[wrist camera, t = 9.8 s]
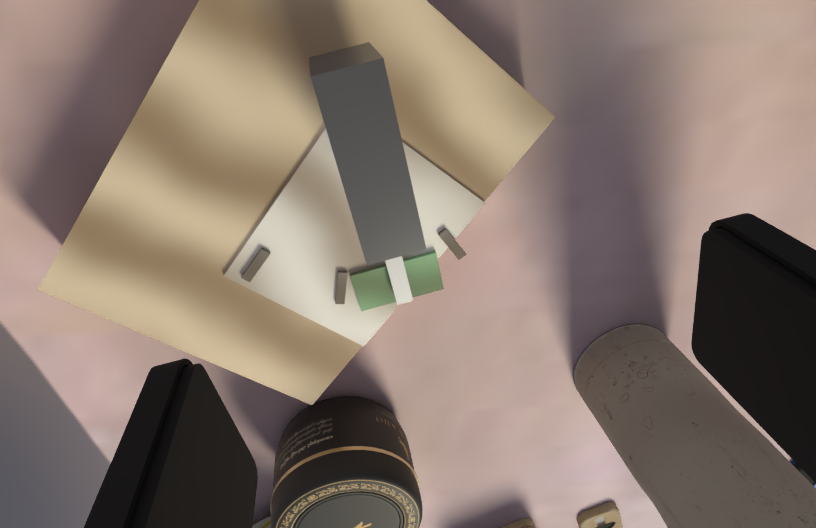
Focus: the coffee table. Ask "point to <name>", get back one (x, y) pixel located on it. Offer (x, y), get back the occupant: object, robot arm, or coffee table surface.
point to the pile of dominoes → (586, 518)
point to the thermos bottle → (687, 438)
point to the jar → (345, 469)
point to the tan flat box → (284, 186)
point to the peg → (370, 156)
